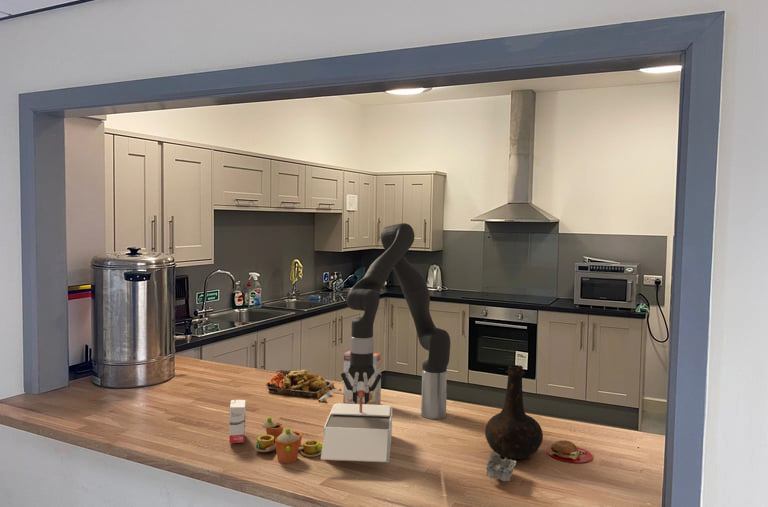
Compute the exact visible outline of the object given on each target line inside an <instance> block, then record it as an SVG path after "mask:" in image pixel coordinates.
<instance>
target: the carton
mask: <svg viewBox="0 0 768 507" xmlns="http://www.w3.org/2000/svg"><path fill="white" fill-rule="evenodd" d="M332 405H333V406H332V408H331V410H330V412H329V415H328V416H327V419H326V422H325V424H324V426H323V442H322V444H323V445H322V453H321V454H320V460H323V461H343V462H346V461H347V462H361V463H362V462H365V463H388V464H389V463H390V458H391V457H390V456H391V447H392V436H393V406H391V407H390V416H389V417H384V416H357V415H331V412H332V410H333V408H334V405H335V404H332Z"/></svg>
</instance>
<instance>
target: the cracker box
mask: <svg viewBox="0 0 768 507" xmlns="http://www.w3.org/2000/svg"><path fill="white" fill-rule="evenodd" d="M349 367H350V350H348V351H346V352H344V353H343V371H344V372H345V371H347V370H348V369H349ZM373 367H374V369H375V371H376V372H378V373H382V353H379V352H378V353H377V352H373ZM348 379H349V381H350V384H351V385H352V386H353V384H354V379H353V378H352V376H351V375H350V373H349V377H348ZM374 381H375V378H374V374H373V375H372V376H371V378H370V379H369V387H370V386H372V385H373V383H374ZM381 384H382V377H381V378H380V380H379V382H378V384H377V386H376V388H375V390H374V391H370V392H369V402H367V404H370V405H381V400H382V398H381V395H382V394H381V392H382V391H381V390H382V389H381V388H382V385H381ZM359 390H363V391H364V392H365V385H364V382H361V381H360V382H358V385H357V391H359ZM342 391H343V396H342V397H343V399H342V400H343V402H342V403H343V404H355V402H353V392H352V391H351V390H347V387H346V385H345V383H344V382H343V390H342ZM357 404H360V398H359V397H358V398H357ZM362 404H365V396H364V397H363V398H362Z"/></svg>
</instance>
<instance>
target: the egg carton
mask: <svg viewBox="0 0 768 507" xmlns="http://www.w3.org/2000/svg"><path fill="white" fill-rule="evenodd" d="M516 464H517V460H516V459H510V458H506V457H504V459H502V458H501V456H500V455H499V454H497V453H496V452H495V451H493V450H492V452H491V454H490V457H489V458H488V461H487V462H486V466H485V467H486V468H485V469H486V474H485V475H486V476H487V477H488V478H490V479H499V480H501V481H503V482H511V478H512V476H513V472H514V467H515V466H516Z"/></svg>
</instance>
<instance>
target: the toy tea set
mask: <svg viewBox="0 0 768 507" xmlns="http://www.w3.org/2000/svg"><path fill="white" fill-rule="evenodd" d="M261 427H262V428H264V429H265V430H266V431H265V432H266V434H258V435H257V439H256V440H257V441H255V446H254V450H255V451H257V452H260V453H269V452H272V451H275V450H276V457H277V461H278V462H279V463H280V464H281V463H282V464H291V463H295V462H296V461H297V460H298V456H299V451H300V454H301V455H302V456H304V457H308V458H313V457H314V458H315V457H318V456H321V453H322V447H323V443H321V442H320V440H318V439H314V438H312V439H306V440H305V441H303V442H302V438H303V433H302V432H300V431H297V430H296V431H295V430H293V431H292V430H291V429H290V428H286V429H285V431H284V424H283V423H281V422H276V421H273V420H272V417H271V416H270V417H267V419H266V421H263V423H262V424H261ZM301 444H302V446H301Z"/></svg>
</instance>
